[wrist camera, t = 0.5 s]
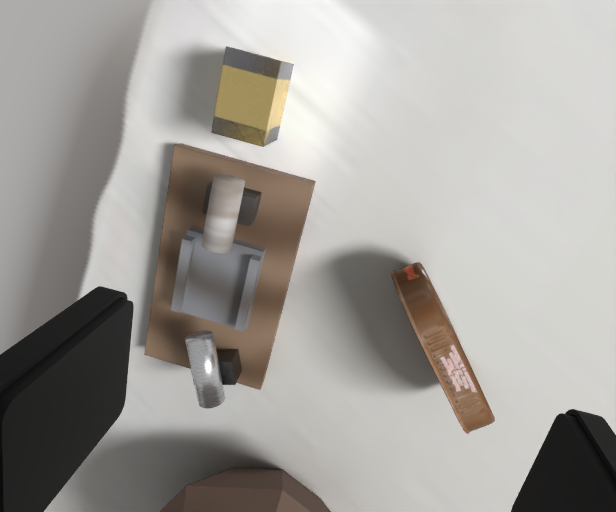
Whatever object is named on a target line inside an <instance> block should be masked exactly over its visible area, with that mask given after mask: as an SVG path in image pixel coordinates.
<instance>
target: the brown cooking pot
mask: <svg viewBox="0 0 616 512" xmlns="http://www.w3.org/2000/svg"><path fill="white" fill-rule="evenodd" d="M160 512H331V511H330V510H329V509H328V508H327V506H326V505H325V504H324V502H323V501H322V500H321V499H320V498H319V497H318V496H316V495H315V494H314V493H313V492H311V491H310V490H309V489H307V488H306V487H305V486H303V485H302V484H301V483H300V482H298V481H297V480H296V479H294V478H293V477H292V476H290V475H289V474H288V473H287V472H285V471H284V470H281V469H256V468H232V469H229V470H227V471H224V472H221V473H219V474H216V475H213V476H211V477H208V478H205V479H203V480H200V481H197V482H195V483H192V484H189V485H187V486H186V487H185V488H184V489H183V490H182V491H181V492H180V493H178V494H177V495H176V496H175V497H174V498H173V499H172V500H171V501H170V502H169V503H168V504H167V505H166V506H165V507H164V508H163V509H162V510H161V511H160Z"/></svg>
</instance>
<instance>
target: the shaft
mask: <svg viewBox="0 0 616 512" xmlns="http://www.w3.org/2000/svg"><path fill="white" fill-rule="evenodd" d="M185 341H186V345H187V350H188V355H189V360H190V366H191V371H192V376H193V381H194V385H195V389H196V393H197V398H198V403H199V405H200V406H201V407H203V408H213V407H216V406H218V405H220V404H221V403H223V401H224V400H225V394H224V389H223V385H235V384H236V382H237V380H238V378H239V376H240V374H241V372H242V367H241V361H240V355H239V349H216V346H215V340H214V335H213V332H211V331H208V330H200V331H196V332H193V333H191V334H189V335H188V336H187V337H186V339H185Z"/></svg>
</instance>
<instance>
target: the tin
mask: <svg viewBox="0 0 616 512" xmlns="http://www.w3.org/2000/svg"><path fill="white" fill-rule="evenodd" d="M391 275H392V279H393V282H394V285H395V287H396V290H397V293H398V295H399V298H400V300H401V303H402V305H403V307H404V310H405V312H406V314H407V316H408V319H409V321H410V323H411V325H412V327H413V329H414V331H415V334H416V335H417V338H418V340H419V342H420V344H421V346H422V348H423V350H424V352H425V354H426V356H427V358H428V360H429V362H430V364H431V366H432V368H433V370H434V372H435V374H436V376H437V378H438V380H439V382H440V384H441V386H442V388H443V390H444V392H445V394H446V396H447V398H448V400H449V402H450V404H451V406H452V408H453V410H454V413H455V415H456V417H457V419H458V421H459V422H460V424H461V426H462V428H463V430H464V431H465V432H466V433H467V434H468V433H469V432H470V431H473V430H475V429H478V428H481V427H484V426H486V425H489V424H491V423H493V422H494V420H495V418H494V416H493V414H492V411H491V409H490V407H489V405H488V403H487V401H486V398H485V396H484V394H483V392H482V390H481V387H480V385H479V383H478V381H477V379H476V377H475V374H474V372H473V370H472V368H471V366H470V364H469V361H468V359H467V357H466V355H465V353H464V351H463V349H462V347H461V344H460V342H459V340H458V338H457V335H456V333H455V331H454V329H453V327H452V325H451V322H450V320H449V318H448V316H447V314H446V312H445V310H444V308H443V306H442V304H441V301H440V299H439V297H438V295H437V293H436V291H435V289H434V287H433V285H432V283H431V281H430V279H429V277H428V275H427V273H426V271H425V269H424V267H423V266H422V264H421V263H419V262H418V263H414V264H411V265H409V266H407V267H404V268H402V269H400V270H398V271H392V272H391Z"/></svg>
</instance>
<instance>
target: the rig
mask: <svg viewBox="0 0 616 512" xmlns="http://www.w3.org/2000/svg"><path fill="white" fill-rule="evenodd" d="M314 185H315V181H313V180H309V179H306V178H302V177H298V176H295V175H291V174H288V173H284V172H281V171H277V170H274V169H270V168H266V167H263V166H259V165H256V164H252V163H249V162H245V161H242V160H238V159H234V158H231V157H227V156H224V155H220V154H217V153H213V152H209V151H206V150H202V149H199V148H195V147H192V146H188V145H185V144H178V145H175V146H174V151H173V158H172V165H171V172H170V179H169V186H168V193H167V200H166V207H165V214H164V221H163V228H162V235H161V242H160V249H159V256H158V263H157V270H156V277H155V284H154V291H153V298H152V305H151V312H150V319H149V326H148V333H147V340H146V347H145V354H144V355H147V356H151V357H154V358H157V359H161V360H164V361H167V362H170V363H174V364H177V365H180V366H184V367H187V368H190V369H191V366H190V360H189V355H188V350H187V345H186V341H185V339H186V337H187V336H188V335H189V334H191V333H193V332H196V331H200V330H208V331H211V332H213V335H214V340H215V346H216V349H239V355H240V361H241V367H242V372H241V374H240V376H239V378H238V380H237V382H236V383H239V384H243V385H246V386H249V387H252V388H256V389H259V390H260V389H261V387H262V384H263V382H264V378H265V374H266V370H267V367H268V363H269V359H270V355H271V351H272V347H273V343H274V340H275V336H276V332H277V328H278V324H279V320H280V316H281V313H282V309H283V305H284V301H285V297H286V293H287V289H288V286H289V282H290V278H291V274H292V270H293V266H294V262H295V259H296V255H297V251H298V247H299V243H300V239H301V235H302V232H303V228H304V224H305V220H306V216H307V212H308V208H309V205H310V201H311V197H312V193H313V189H314Z"/></svg>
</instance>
